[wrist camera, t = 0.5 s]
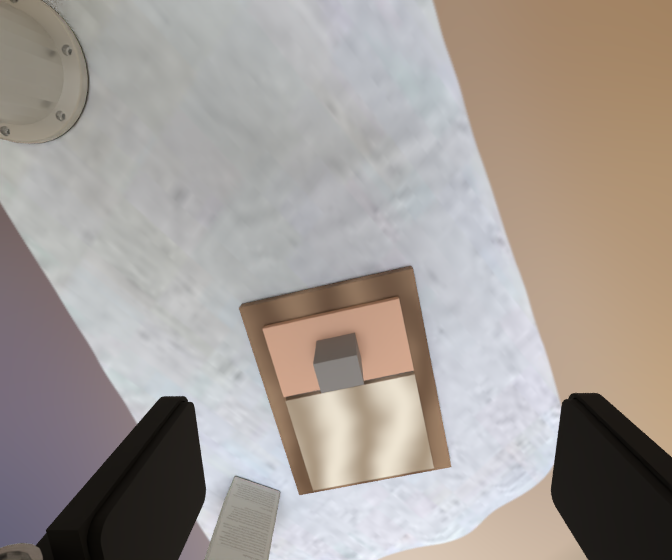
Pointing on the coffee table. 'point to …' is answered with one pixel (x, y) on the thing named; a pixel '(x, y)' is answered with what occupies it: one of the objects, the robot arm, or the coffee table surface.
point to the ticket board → (354, 395)
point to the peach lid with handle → (339, 347)
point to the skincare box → (245, 523)
